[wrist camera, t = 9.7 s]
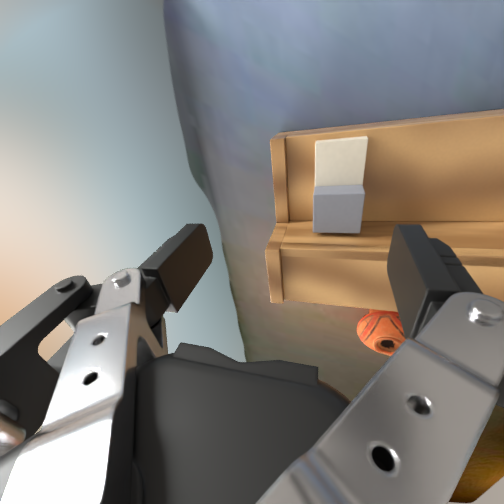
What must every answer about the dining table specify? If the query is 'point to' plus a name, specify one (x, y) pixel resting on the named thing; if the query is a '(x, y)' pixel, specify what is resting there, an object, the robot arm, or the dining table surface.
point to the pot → (381, 331)
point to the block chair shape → (339, 185)
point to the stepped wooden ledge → (391, 207)
